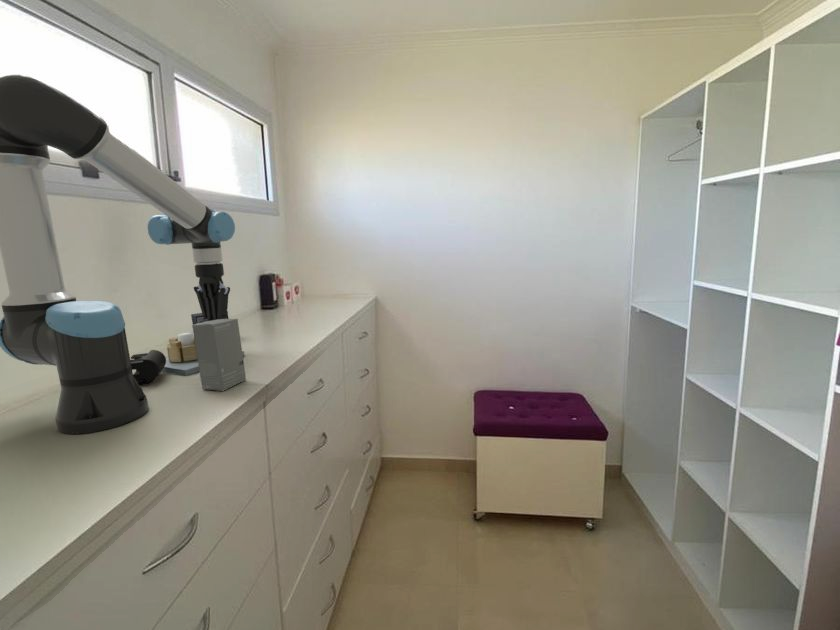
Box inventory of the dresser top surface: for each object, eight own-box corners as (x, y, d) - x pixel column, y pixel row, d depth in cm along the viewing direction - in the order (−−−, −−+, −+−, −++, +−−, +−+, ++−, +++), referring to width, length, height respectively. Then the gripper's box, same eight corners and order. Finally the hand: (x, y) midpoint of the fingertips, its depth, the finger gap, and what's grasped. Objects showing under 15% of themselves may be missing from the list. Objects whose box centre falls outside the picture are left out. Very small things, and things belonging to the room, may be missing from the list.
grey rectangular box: (223, 392, 101) (214, 324, 98) (199, 389, 103) (189, 324, 100) (248, 380, 109) (240, 317, 106) (225, 378, 111) (217, 316, 108)
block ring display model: (186, 375, 114) (181, 344, 113) (143, 368, 123) (138, 339, 121) (244, 356, 131) (241, 328, 129) (202, 351, 139) (199, 324, 138)
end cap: (161, 383, 109) (156, 357, 108) (128, 388, 107) (123, 361, 106) (168, 372, 118) (164, 348, 117) (138, 376, 116) (133, 351, 115)
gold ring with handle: (170, 364, 119) (167, 344, 118) (167, 356, 127) (164, 338, 126) (232, 353, 128) (230, 335, 127) (226, 346, 136) (224, 329, 135)
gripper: (234, 262, 128) (243, 340, 133) (204, 262, 134) (213, 337, 138) (213, 264, 122) (222, 346, 126) (182, 264, 127) (192, 342, 132)
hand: (217, 341), depth 132 cm, fingers closed
